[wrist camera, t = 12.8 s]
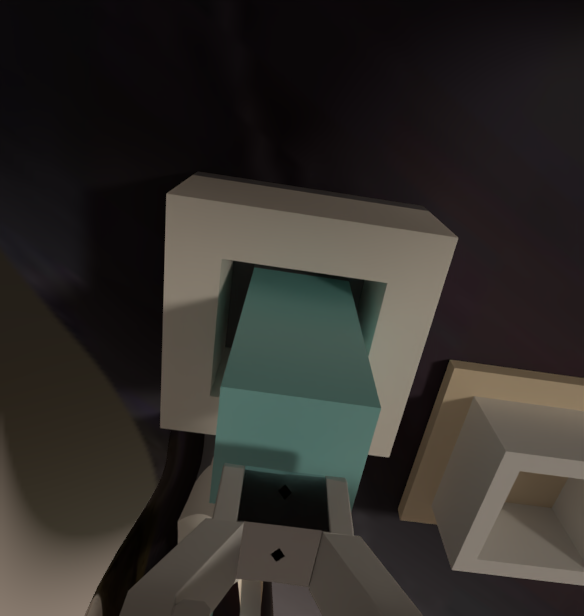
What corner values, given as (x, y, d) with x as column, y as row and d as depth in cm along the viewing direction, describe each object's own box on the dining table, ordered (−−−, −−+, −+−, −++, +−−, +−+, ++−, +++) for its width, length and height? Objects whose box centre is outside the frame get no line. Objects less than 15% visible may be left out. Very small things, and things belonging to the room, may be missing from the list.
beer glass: (268, 495, 28) (236, 879, 14) (156, 472, 27) (9, 852, 13) (297, 406, 25) (290, 784, 11) (171, 379, 24) (3, 743, 11)
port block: (197, 171, 19) (166, 193, 15) (422, 205, 20) (458, 237, 15) (187, 364, 24) (160, 428, 19) (372, 389, 24) (389, 457, 20)
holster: (449, 359, 23) (483, 419, 19) (652, 387, 24) (731, 452, 19) (397, 509, 28) (415, 585, 24) (568, 530, 28) (616, 608, 24)
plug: (257, 255, 20) (220, 386, 11) (345, 268, 20) (381, 408, 11) (248, 333, 22) (209, 502, 13) (329, 345, 22) (349, 520, 13)
